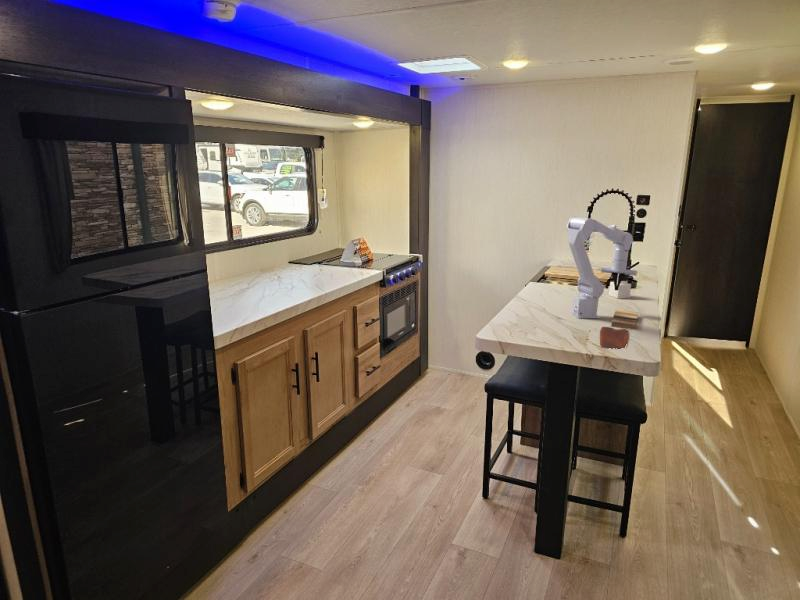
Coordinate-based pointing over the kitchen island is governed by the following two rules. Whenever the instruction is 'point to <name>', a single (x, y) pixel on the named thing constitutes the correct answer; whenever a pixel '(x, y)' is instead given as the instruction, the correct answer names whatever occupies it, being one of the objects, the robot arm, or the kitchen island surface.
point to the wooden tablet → (613, 338)
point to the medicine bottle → (620, 289)
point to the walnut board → (624, 322)
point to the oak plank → (626, 314)
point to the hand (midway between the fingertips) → (616, 289)
